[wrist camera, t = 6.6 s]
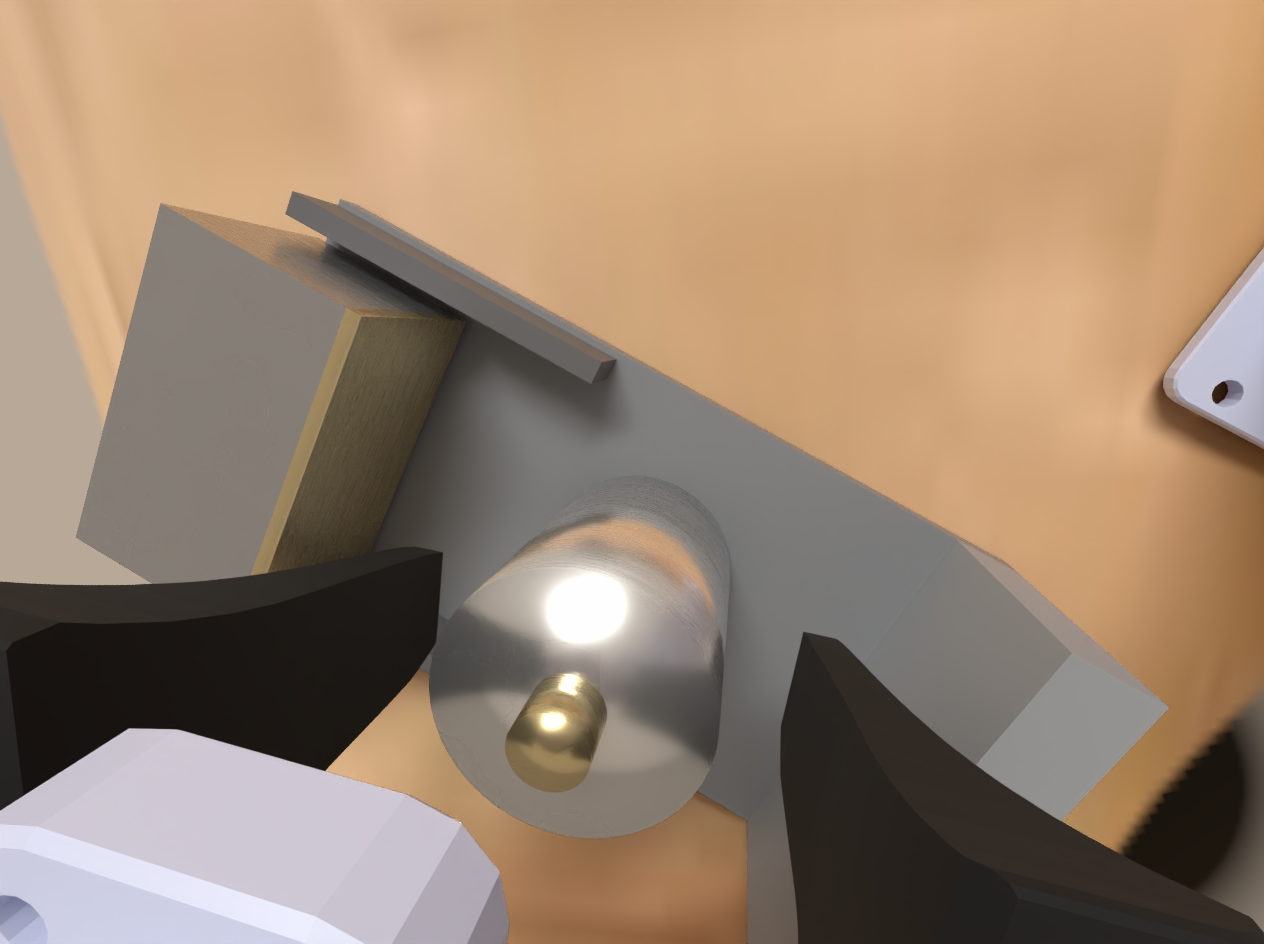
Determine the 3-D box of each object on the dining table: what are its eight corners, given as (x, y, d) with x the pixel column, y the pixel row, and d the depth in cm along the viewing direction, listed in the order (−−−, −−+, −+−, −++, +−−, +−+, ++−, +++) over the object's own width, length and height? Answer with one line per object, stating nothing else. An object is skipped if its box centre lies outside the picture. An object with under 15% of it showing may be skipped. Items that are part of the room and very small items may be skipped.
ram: (466, 320, 14) (361, 316, 10) (363, 565, 16) (243, 638, 12) (318, 237, 14) (160, 202, 10) (234, 489, 16) (75, 537, 12)
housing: (739, 485, 14) (731, 622, 7) (722, 661, 15) (701, 924, 8) (550, 467, 15) (388, 577, 8) (547, 636, 16) (398, 859, 9)
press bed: (1007, 563, 14) (1169, 707, 9) (796, 833, 16) (820, 1075, 11) (356, 204, 15) (134, 131, 10) (250, 510, 17) (27, 590, 12)
